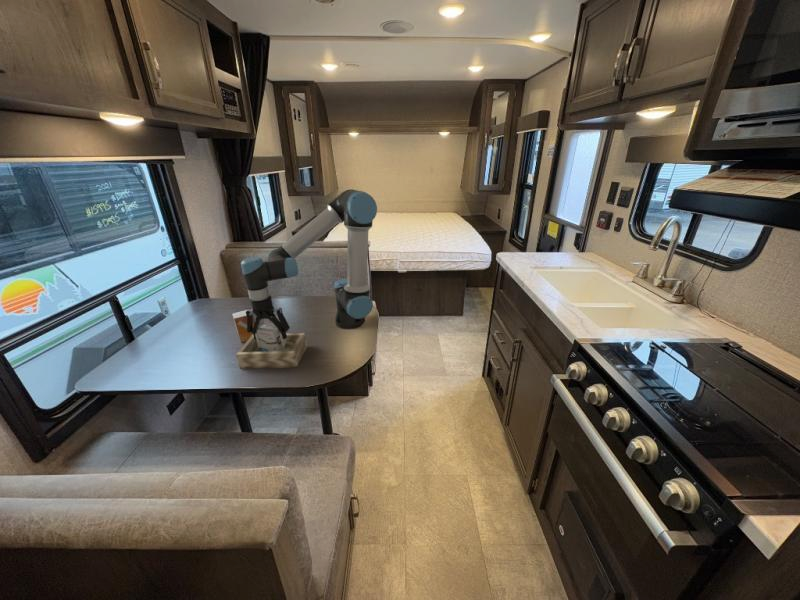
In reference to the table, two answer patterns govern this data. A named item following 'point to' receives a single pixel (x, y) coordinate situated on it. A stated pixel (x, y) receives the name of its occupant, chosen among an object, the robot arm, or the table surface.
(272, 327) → the ink box
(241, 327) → the small box
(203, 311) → the table surface
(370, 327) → the table surface
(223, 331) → the table surface
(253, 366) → the crate
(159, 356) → the table surface
